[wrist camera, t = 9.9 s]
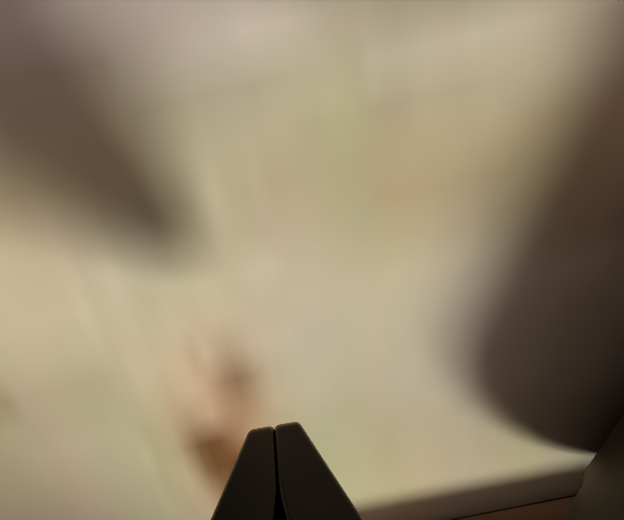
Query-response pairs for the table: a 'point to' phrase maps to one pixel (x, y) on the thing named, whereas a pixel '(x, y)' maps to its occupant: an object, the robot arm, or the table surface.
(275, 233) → the table surface
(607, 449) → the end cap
